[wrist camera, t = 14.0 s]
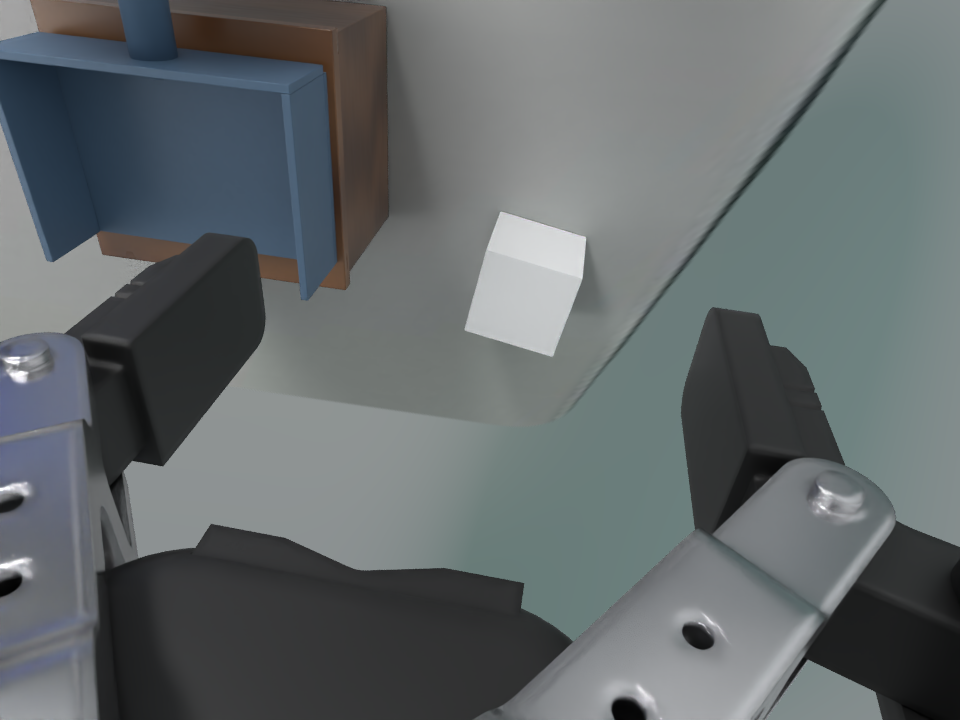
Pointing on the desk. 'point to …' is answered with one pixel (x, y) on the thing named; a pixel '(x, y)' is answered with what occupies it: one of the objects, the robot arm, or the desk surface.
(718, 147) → the desk surface
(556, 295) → the white cube
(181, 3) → the storage box
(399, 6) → the desk surface
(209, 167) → the dustpan
